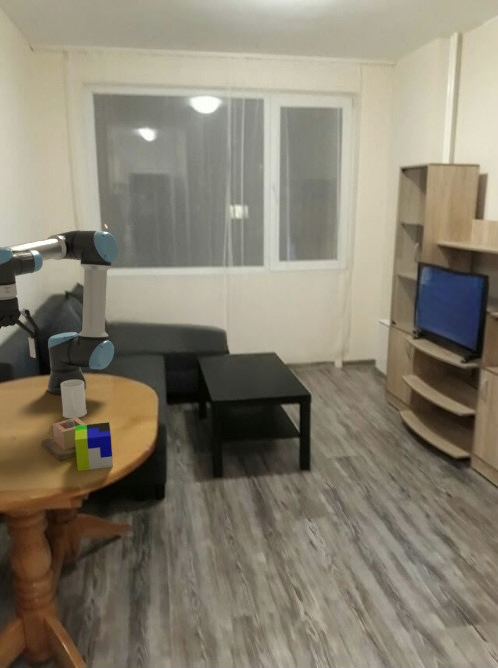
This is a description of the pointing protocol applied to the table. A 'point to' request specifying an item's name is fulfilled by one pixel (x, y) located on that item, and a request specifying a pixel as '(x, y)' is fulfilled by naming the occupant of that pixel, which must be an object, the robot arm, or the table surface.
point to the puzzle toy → (93, 446)
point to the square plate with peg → (58, 450)
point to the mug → (73, 398)
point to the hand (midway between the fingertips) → (12, 361)
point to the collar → (65, 433)
